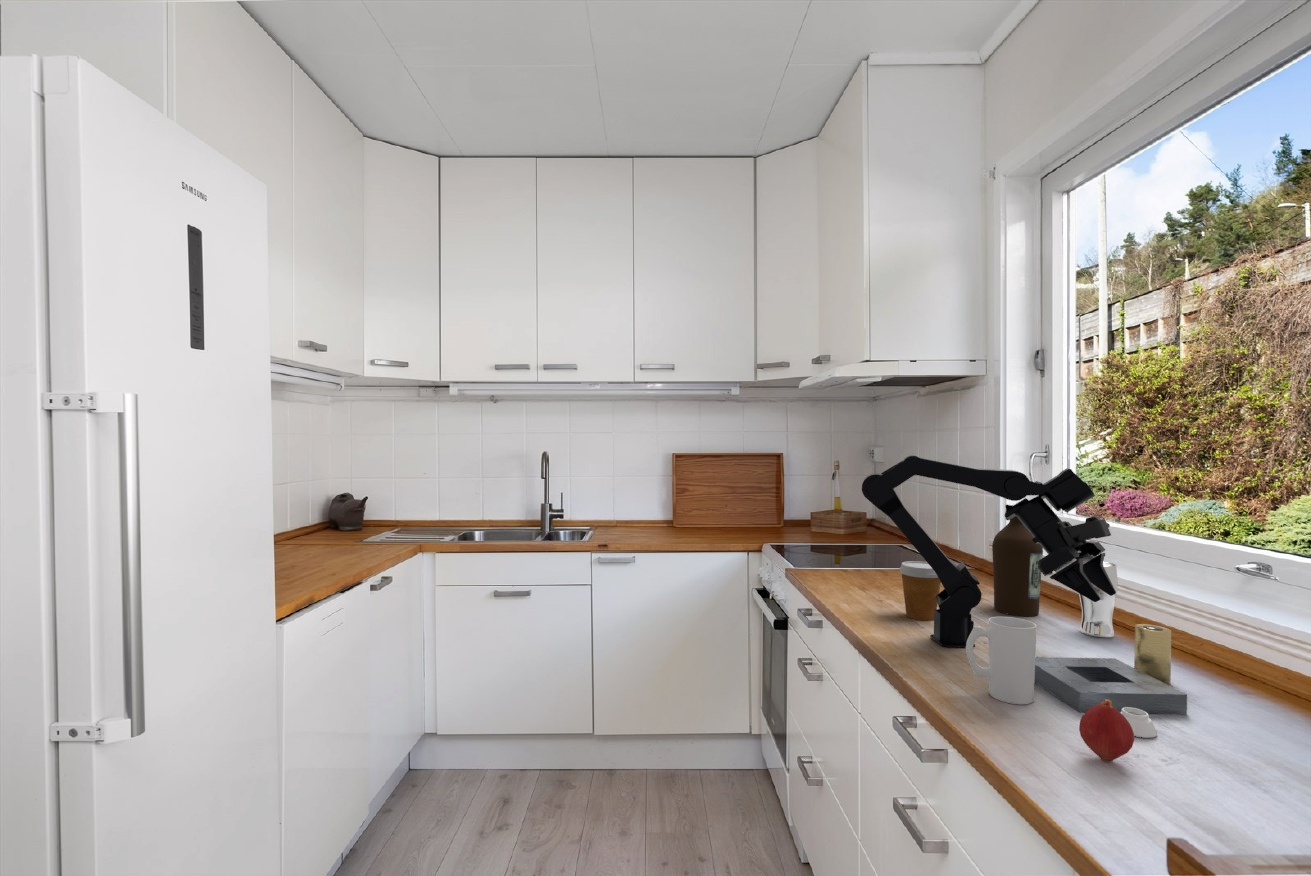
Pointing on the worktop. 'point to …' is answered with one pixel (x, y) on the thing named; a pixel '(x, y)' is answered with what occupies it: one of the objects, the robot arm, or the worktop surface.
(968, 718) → the worktop surface
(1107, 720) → the onion
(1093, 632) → the beer glass
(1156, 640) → the brass bushing
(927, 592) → the disposable coffee cup
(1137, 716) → the white jar
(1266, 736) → the worktop surface
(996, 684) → the mug
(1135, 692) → the plate
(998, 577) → the olive oil
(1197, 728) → the worktop surface
